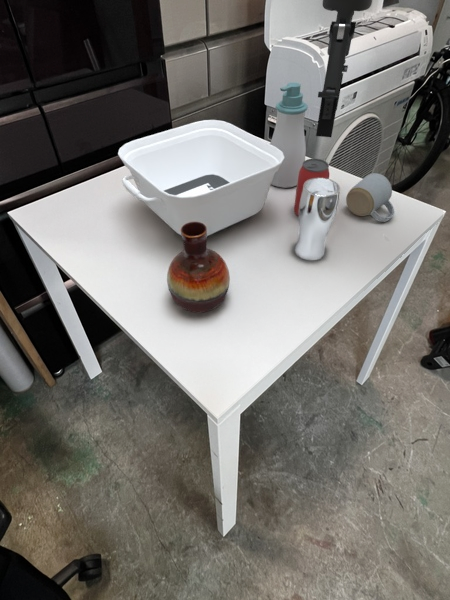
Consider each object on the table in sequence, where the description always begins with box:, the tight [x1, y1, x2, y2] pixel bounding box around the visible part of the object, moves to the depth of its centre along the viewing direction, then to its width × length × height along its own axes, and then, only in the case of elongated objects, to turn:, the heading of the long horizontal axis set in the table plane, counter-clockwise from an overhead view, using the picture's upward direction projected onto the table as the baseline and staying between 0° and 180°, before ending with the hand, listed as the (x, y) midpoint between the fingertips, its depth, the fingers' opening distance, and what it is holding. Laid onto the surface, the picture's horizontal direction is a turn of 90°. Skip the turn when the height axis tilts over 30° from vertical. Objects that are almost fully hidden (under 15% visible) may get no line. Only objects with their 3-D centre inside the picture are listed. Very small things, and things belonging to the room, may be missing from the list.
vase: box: [166, 222, 231, 313], centre depth 64 cm, size 11×11×15 cm
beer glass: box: [294, 178, 341, 261], centre depth 73 cm, size 7×7×15 cm
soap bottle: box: [269, 82, 309, 189], centre depth 91 cm, size 10×10×23 cm
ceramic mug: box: [345, 172, 395, 223], centre depth 85 cm, size 11×8×8 cm
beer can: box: [293, 158, 330, 217], centre depth 84 cm, size 7×7×12 cm
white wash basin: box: [117, 119, 284, 237], centre depth 83 cm, size 34×29×15 cm
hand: (327, 122), depth 71 cm, fingers open, 13 cm apart
